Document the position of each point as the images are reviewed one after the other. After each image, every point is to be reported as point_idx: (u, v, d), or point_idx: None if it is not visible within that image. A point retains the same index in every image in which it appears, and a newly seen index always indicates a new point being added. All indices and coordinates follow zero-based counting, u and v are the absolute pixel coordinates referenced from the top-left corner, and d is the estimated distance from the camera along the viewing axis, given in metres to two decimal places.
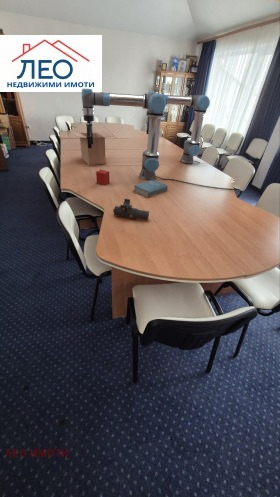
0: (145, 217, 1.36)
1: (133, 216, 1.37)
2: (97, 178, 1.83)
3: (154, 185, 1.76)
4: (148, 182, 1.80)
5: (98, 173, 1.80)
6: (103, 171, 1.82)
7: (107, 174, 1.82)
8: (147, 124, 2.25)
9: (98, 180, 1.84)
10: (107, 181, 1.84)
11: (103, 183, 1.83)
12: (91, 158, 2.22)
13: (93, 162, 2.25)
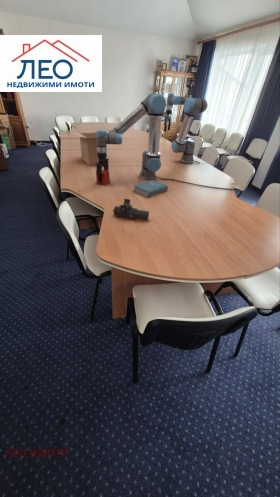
0: (145, 217, 1.36)
1: (133, 216, 1.37)
2: (97, 178, 1.83)
3: (154, 185, 1.76)
4: (148, 182, 1.80)
5: None
6: (103, 171, 1.82)
7: (107, 174, 1.82)
8: None
9: (98, 180, 1.84)
10: (107, 181, 1.84)
11: (103, 183, 1.83)
12: (91, 158, 2.22)
13: (93, 162, 2.25)
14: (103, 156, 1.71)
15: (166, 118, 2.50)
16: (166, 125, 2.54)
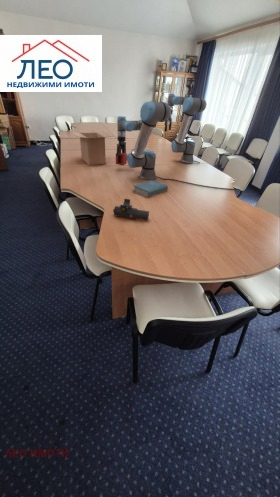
0: (145, 217, 1.36)
1: (133, 216, 1.37)
2: (116, 159, 2.10)
3: (154, 185, 1.76)
4: (148, 182, 1.80)
5: None
6: (121, 153, 2.09)
7: (125, 156, 2.09)
8: None
9: (117, 161, 2.11)
10: (124, 162, 2.12)
11: (122, 164, 2.10)
12: (91, 158, 2.22)
13: (93, 162, 2.25)
14: (123, 139, 1.99)
15: None
16: (167, 125, 2.56)
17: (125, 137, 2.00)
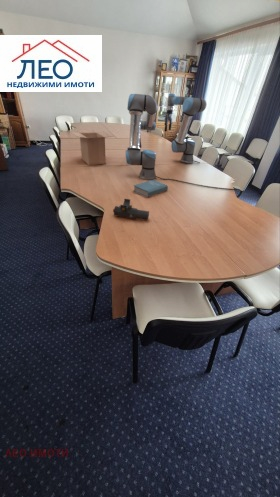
0: (145, 217, 1.36)
1: (133, 216, 1.37)
2: None
3: (154, 185, 1.76)
4: (148, 182, 1.80)
5: None
6: None
7: None
8: None
9: None
10: None
11: None
12: (91, 158, 2.22)
13: (93, 162, 2.25)
14: None
15: (167, 118, 2.52)
16: (167, 125, 2.56)
17: (140, 135, 2.35)
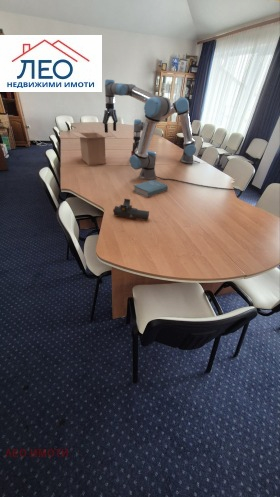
0: (145, 217, 1.36)
1: (133, 216, 1.37)
2: None
3: (154, 185, 1.76)
4: (148, 182, 1.80)
5: None
6: None
7: None
8: None
9: None
10: None
11: None
12: (91, 158, 2.22)
13: (93, 162, 2.25)
14: (111, 106, 1.81)
15: (133, 146, 2.37)
16: None
17: (114, 104, 1.82)
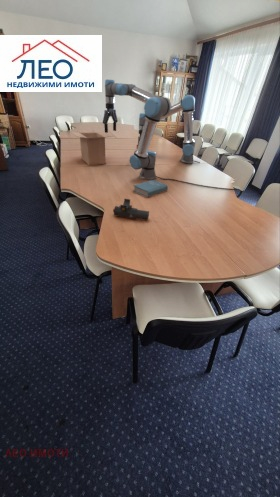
0: (145, 217, 1.36)
1: (133, 216, 1.37)
2: None
3: (154, 185, 1.76)
4: (148, 182, 1.80)
5: None
6: None
7: None
8: None
9: None
10: None
11: None
12: (91, 158, 2.22)
13: (93, 162, 2.25)
14: (111, 106, 1.81)
15: (139, 140, 2.39)
16: None
17: (114, 104, 1.82)
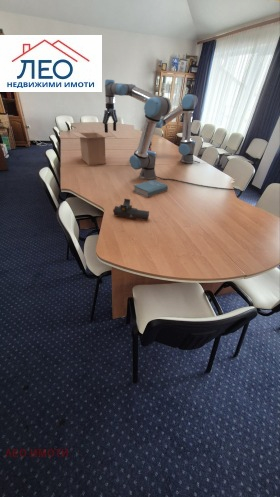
0: (145, 217, 1.36)
1: (133, 216, 1.37)
2: None
3: (154, 185, 1.76)
4: (148, 182, 1.80)
5: None
6: None
7: (150, 150, 2.59)
8: None
9: None
10: None
11: None
12: (91, 158, 2.22)
13: (93, 162, 2.25)
14: (111, 106, 1.81)
15: None
16: None
17: (114, 104, 1.82)
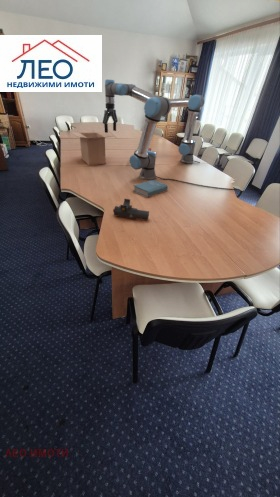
0: (145, 217, 1.36)
1: (133, 216, 1.37)
2: None
3: (154, 185, 1.76)
4: (148, 182, 1.80)
5: None
6: None
7: (150, 150, 2.59)
8: None
9: None
10: None
11: None
12: (91, 158, 2.22)
13: (93, 162, 2.25)
14: (111, 106, 1.81)
15: None
16: None
17: (114, 104, 1.82)
